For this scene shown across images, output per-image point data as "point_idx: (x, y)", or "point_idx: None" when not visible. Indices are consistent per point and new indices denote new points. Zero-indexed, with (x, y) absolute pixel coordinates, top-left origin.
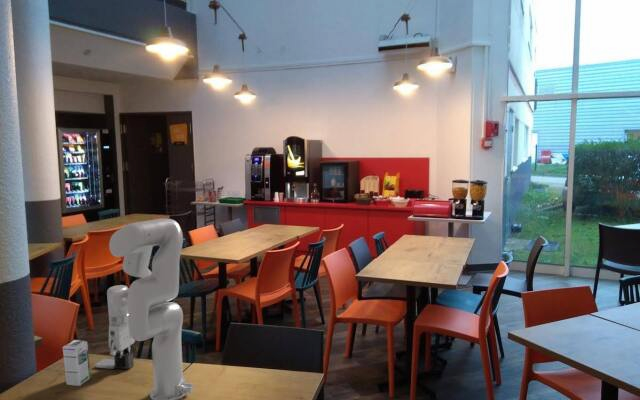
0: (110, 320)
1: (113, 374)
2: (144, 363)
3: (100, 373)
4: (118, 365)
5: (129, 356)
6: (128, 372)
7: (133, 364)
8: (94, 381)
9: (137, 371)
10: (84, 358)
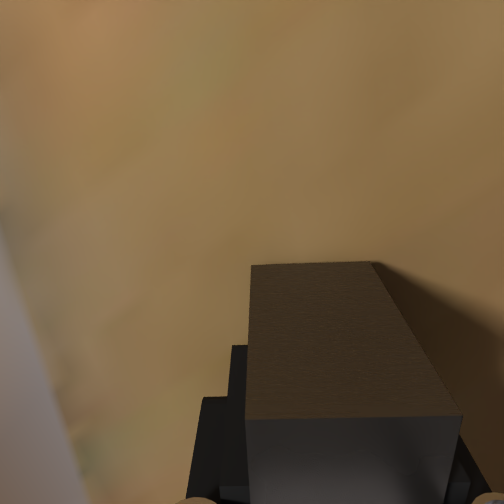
0: None
1: (495, 361)
2: (122, 163)
3: None
4: None
5: (390, 394)
6: (434, 217)
7: (255, 273)
8: None
9: (392, 97)
10: None
